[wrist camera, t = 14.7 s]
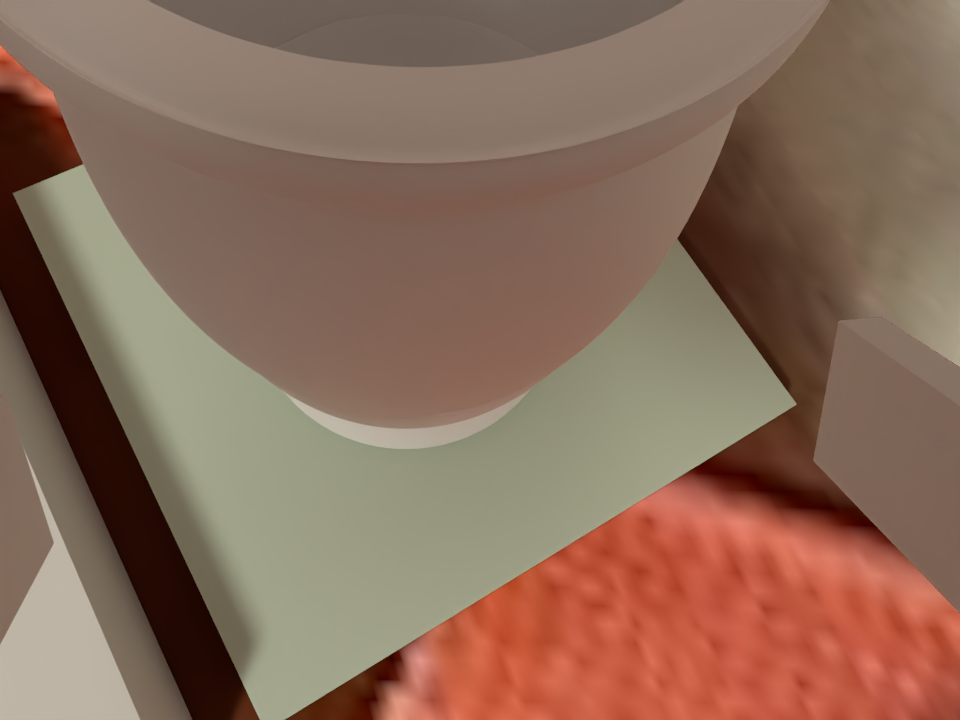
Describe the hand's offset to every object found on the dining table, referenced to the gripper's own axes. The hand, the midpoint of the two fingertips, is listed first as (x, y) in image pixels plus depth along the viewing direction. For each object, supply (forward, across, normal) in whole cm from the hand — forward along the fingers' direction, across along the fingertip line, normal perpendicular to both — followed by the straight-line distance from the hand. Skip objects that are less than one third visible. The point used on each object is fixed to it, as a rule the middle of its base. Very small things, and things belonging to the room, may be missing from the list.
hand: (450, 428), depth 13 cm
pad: (+10, 0, -2) cm, 10 cm away
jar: (+10, 0, -2) cm, 10 cm away
